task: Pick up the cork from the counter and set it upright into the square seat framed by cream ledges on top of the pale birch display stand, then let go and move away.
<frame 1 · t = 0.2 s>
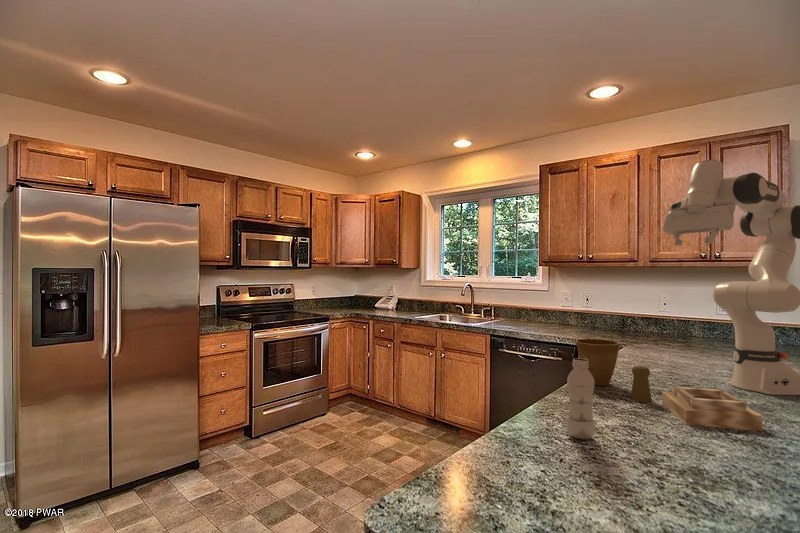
hand: (692, 244, 135), 52 cm above the countertop, tool tilted 20°, fingers open, 8 cm apart
plant pot: (597, 383, 156), on the countertop
cork: (641, 399, 137), on the countertop
plastic bottle: (580, 438, 106), on the countertop
display stand: (707, 416, 121), on the countertop
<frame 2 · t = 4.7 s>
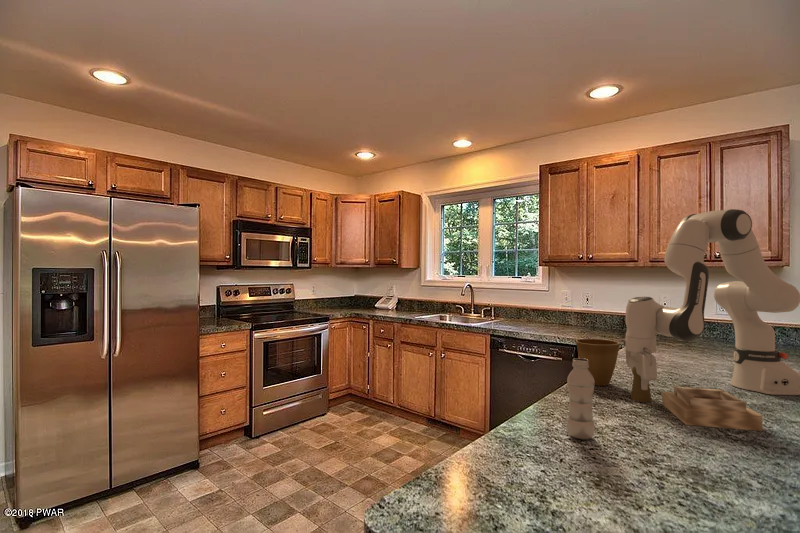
hand: (640, 386, 137), 4 cm above the countertop, tool pointing down, fingers closed on cork, 5 cm apart
cork: (641, 399, 137), on the countertop, touching gripper
everything else where it was.
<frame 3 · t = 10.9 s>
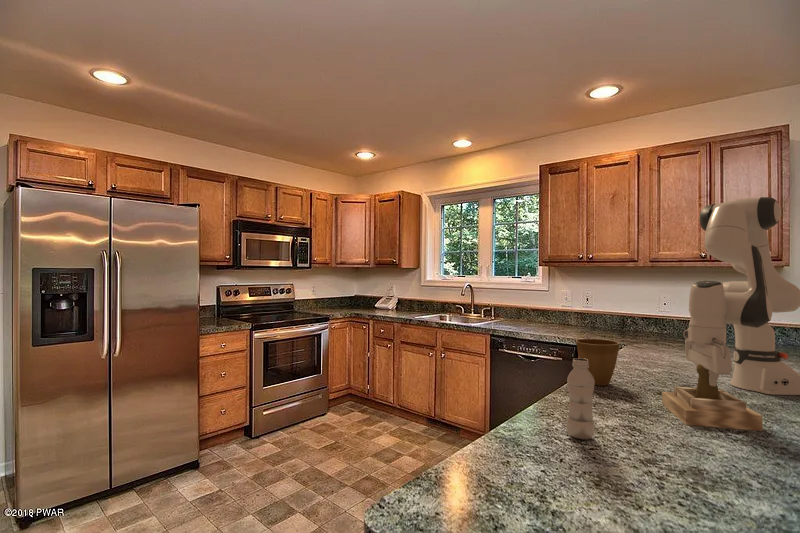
hand: (707, 382, 121), 10 cm above the countertop, tool pointing down, fingers closed on cork, 4 cm apart
cork: (707, 402, 121), point 4 cm above the countertop, touching display stand, gripper
everything else where it was.
when the fingers open (10 cm above the countertop, at t = 11.7 s): cork stays where it is, resting on display stand.
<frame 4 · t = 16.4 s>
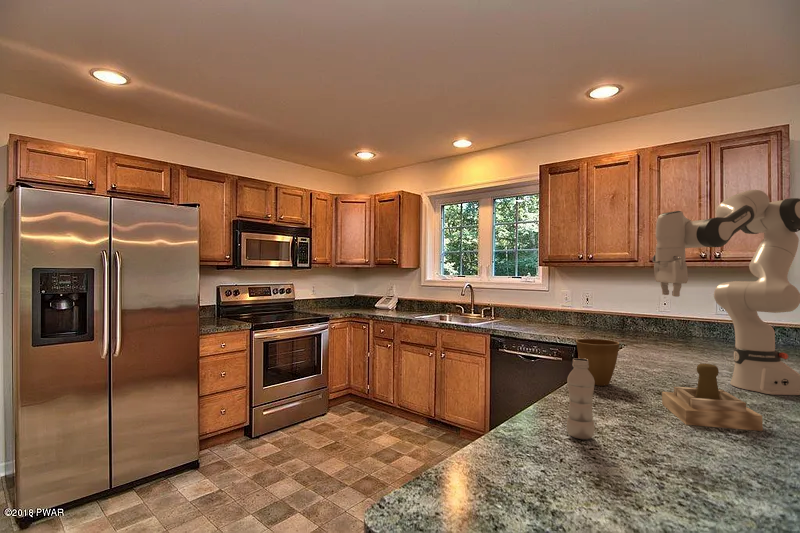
hand: (670, 295, 146), 34 cm above the countertop, tool pointing down, fingers open, 8 cm apart
cork: (707, 402, 121), point 4 cm above the countertop, touching display stand
everything else where it was.
at the end: cork 0.2 cm off-centre on the display stand, point 4.2 cm above the display stand's base; cork tilted 0°; the gripper is holding nothing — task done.
